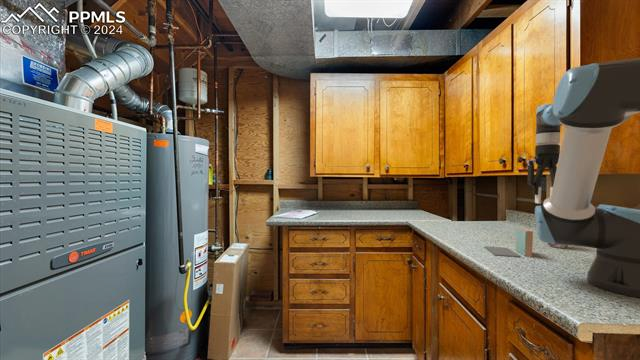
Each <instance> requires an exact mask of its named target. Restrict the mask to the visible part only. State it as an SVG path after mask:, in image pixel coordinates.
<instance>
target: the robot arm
mask: <svg viewBox="0 0 640 360" xmlns="http://www.w3.org/2000/svg"><path fill="white" fill-rule="evenodd" d="M638 113H640V57H638V58H637V57H636V58H632V59H631V58H630V59H621V60H614V61H607V62H606V61H605V62H598V63H597V62H596V63H595V62H593V63H590V64H587V65H586V64H585V65H581V66H575V67H572V68H570V69H568V70H567V71H566V72H565V73H564V74H563V75H562V76H561V78H560V80H559V82H558V84H557V86H556V89H555V93H554V96H553V103H547V104H542V105H539V106H538V107H537V108H536V114H535V117H536V120H535V121H536V123H535V124H536V125H535V127H536V128H535V146H534V147H535V149H534V150H535V151H534V153H535V154H534V155H535V156H534V158H533V159H531V160H526V166H527V179H526V182H527V185H529V186H532V194H533V195H534V203H535V204H540V205H536V206H535V208H534V219H535V227H536V233H537V236H538V239H539V240H540V241H541V242H543V243H546V244H548V243H551V244H556V245H557V244H560V245H568V246H571V247H572V246H573V247H580V248H581V247H582V248H589V249H596V253H595V257H594V259H593V262H592V263H591V265H590V266H589V269H588V271H587V275H586V281H587V282H588V283H590V284H592V285H593V286H595V287H598V288H601V289H603V290H605V291H610V292H612V293H615V294H621V295H625V296H629V297H635V298H640V209H637V208H636V209H635V208H631V207H624V206H617V205H609V204H601V203H600V204H599V205H598V206H597V208H595V206H594V205H593V204H592V203H591V201H592V198H593V194H594V190H595V187H596V184H597V181H598V177H599V173H600V170H601V166H602V163H603V159H604V156H605V152H606V150H607V145H608V142H609V140H610V136H611V131H612V129H613V128H615V127H618V126H619V125H621V124H622V123H623V122H626V121H627V120H628V119H629V118H630V116H633V115H636V114H638ZM562 126H563V127H564V131H563V134H562V135H563V136H562V139H561V129H562V128H561V127H562ZM561 140H562V141H561ZM560 143H561V145H560ZM535 165H537V166H536V172H535ZM546 169H547V170H548V171H549V175H550V176H549V177H550V179H551V185H552V186H550V187H549V191H550V192H549V197H546V198H545V199H544V201H543V202H542V186H540V184H541V181H542V178H543V175H544V171H545V170H546ZM541 203H542V205H541Z"/></svg>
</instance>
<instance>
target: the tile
mask: <svg viewBox="0 0 640 360" xmlns="http://www.w3.org/2000/svg"><path fill="white" fill-rule="evenodd" d="M515 230H516V232H515V252H517V253H520V254H521V255H523V256H525V257H531V258H532V257H533V245H534V244H533V243H534V238H533V237H534V231H533V230H531V229H529V228H526V227H524V226H522V227H521V226H520V227H519V226H517V227H515Z"/></svg>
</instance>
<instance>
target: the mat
mask: <svg viewBox="0 0 640 360" xmlns="http://www.w3.org/2000/svg"><path fill="white" fill-rule="evenodd" d="M483 248H484V249H486V250H487V251H488V252H490V253H491V254H492V255H494V256H495V257H496V256H497V257H513V258H522V256H521V255H520V254H518V252H516V251H514V250H512V249H510V248H508V247H502V246H501V247H500V246H483Z"/></svg>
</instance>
